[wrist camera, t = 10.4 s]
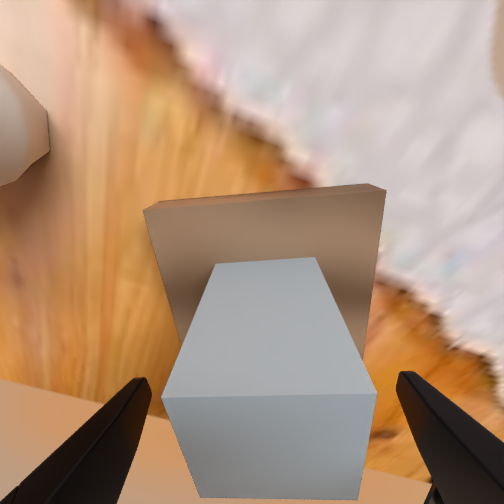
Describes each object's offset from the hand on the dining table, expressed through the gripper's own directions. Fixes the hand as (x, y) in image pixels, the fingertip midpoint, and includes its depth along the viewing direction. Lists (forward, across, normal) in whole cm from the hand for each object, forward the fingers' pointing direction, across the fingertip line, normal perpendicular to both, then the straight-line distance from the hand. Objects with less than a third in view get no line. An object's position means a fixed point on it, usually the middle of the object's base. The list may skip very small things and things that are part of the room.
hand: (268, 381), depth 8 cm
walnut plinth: (+7, 0, 0) cm, 7 cm away
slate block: (+5, 0, 0) cm, 5 cm away
